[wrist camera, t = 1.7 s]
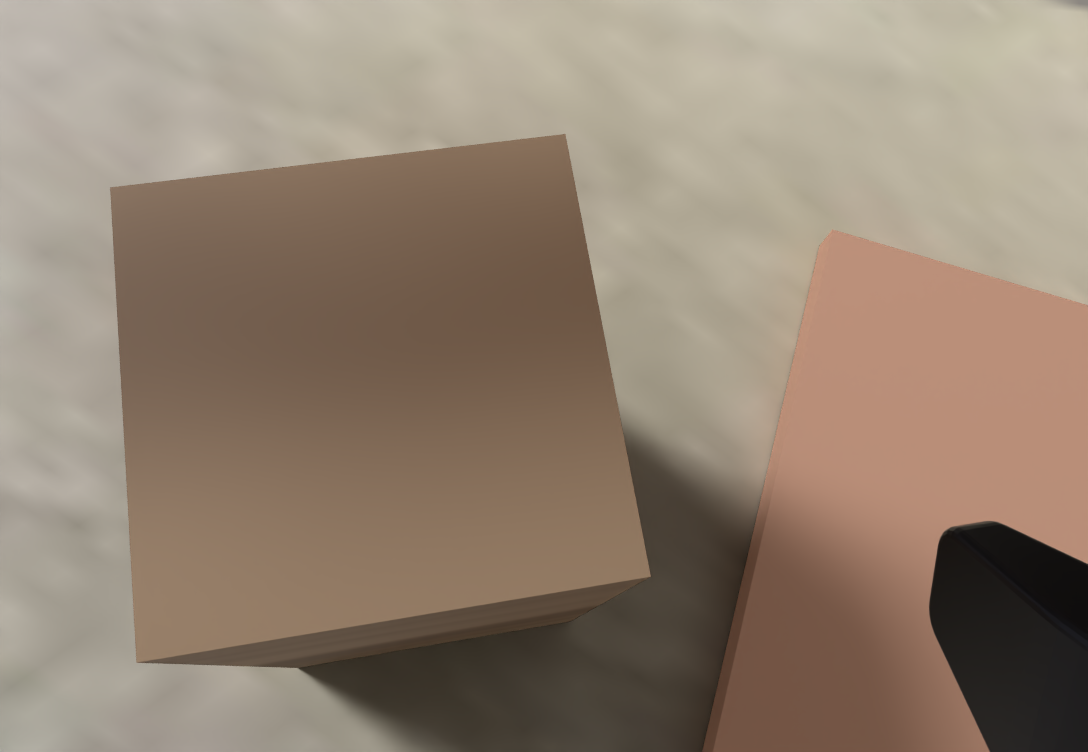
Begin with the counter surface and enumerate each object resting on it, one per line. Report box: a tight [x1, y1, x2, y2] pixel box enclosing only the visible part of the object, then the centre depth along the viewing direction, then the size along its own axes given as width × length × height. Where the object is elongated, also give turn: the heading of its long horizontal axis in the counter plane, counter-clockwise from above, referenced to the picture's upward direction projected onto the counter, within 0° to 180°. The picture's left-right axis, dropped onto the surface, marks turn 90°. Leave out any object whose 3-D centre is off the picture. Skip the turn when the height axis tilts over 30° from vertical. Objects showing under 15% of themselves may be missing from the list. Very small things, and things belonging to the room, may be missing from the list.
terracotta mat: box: [702, 230, 1088, 752], centre depth 19 cm, size 12×12×1 cm
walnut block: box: [110, 134, 651, 668], centre depth 15 cm, size 5×5×9 cm
